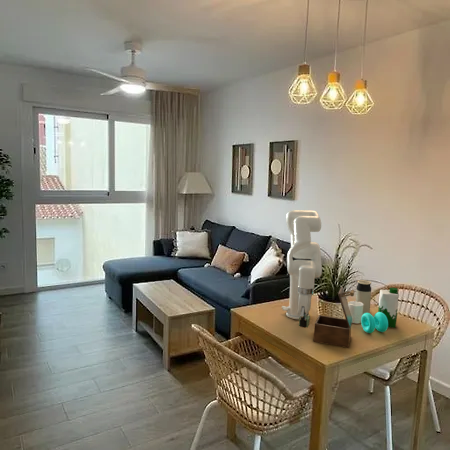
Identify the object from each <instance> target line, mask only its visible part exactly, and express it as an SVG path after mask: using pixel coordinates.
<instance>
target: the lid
mask: <svg viewBox="0 0 450 450" xmlns="http://www.w3.org/2000/svg"><path fill="white" fill-rule="evenodd" d="M355 294H356V290H355V289H351V290H350V291H345V289H344V287H343V286H340V289H339V291H338V293H337V296H338V299H339V301H340V304H341V309H342V312H343V315H344V319H346V322H347V325H348V328H350V327H351V328H352V324H353V323H352V315H351V312H350V309H349V305H348V302H349V301H348V299H347V297H354V295H355ZM351 323H352V324H351Z"/></svg>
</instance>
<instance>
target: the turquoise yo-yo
mask: <svg viewBox="0 0 450 450" xmlns="http://www.w3.org/2000/svg"><path fill="white" fill-rule="evenodd" d="M360 324H361V328H362V329H363V331H364V332H365V333H367V334H372V333H374V332H375V330H377V332H379V333H385V332H386V331H387V330H388V328H389V327H388V320H387V317H386V315H385V314H384V313H382V312H378V311H377V312H375V313H374V315H372V314H371V312H370V313H364V314H362V318H361V323H360Z"/></svg>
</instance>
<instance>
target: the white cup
mask: <svg viewBox="0 0 450 450" xmlns="http://www.w3.org/2000/svg"><path fill="white" fill-rule="evenodd" d="M347 302H348V305H349V309H350V312H351V315H352V324H356V325H357V324H361V318H362V315H363V314H362V313H363V305H364V304H363V303H361V302H357V301H356V300H351V301H347Z"/></svg>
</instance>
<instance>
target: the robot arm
mask: <svg viewBox="0 0 450 450" xmlns="http://www.w3.org/2000/svg"><path fill="white" fill-rule="evenodd" d="M285 221H286V226H287V230H288V232H289V235H290V248H289V250H288V251H287V256H286V268H287V273H288V274H289V299H288V300H289V301H288V302H289V304H288V305H287V306H285V305H281V310H282V311H283V312H285V316H286V317H288V318H290V319H293V320H298V321H299V317H300V326H299V328H305V329H307V328H306V325H307V320H306V316H310V311H311V308H312V296H313V295H314V293H315V279H318V278H320V277H321V276H322V273H323V267H322V253H321V247H320V245H319V243H318V242H315V241H312V236H311V233H318V232H320V231H321V229H322V220H321V216H320V215H319V213H318V212H317V211H316V210H305V209H303V210H301V209H295V210H290V211H288V212H287V213H286V216H285ZM293 258H294V259H293ZM300 315H301V316H300ZM304 315H305V316H304Z"/></svg>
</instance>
